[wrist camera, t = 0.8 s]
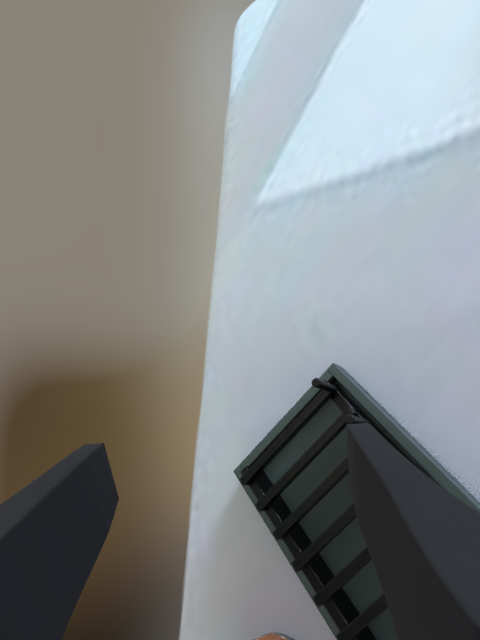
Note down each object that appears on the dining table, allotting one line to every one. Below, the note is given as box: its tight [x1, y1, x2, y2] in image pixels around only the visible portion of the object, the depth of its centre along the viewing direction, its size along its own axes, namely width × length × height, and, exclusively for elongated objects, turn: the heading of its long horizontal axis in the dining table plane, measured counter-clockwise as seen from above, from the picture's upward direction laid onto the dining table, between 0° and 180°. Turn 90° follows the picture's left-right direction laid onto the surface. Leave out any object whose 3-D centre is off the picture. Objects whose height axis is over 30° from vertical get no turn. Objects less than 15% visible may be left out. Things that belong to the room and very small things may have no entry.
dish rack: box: [234, 363, 480, 640], centre depth 21 cm, size 14×10×5 cm
